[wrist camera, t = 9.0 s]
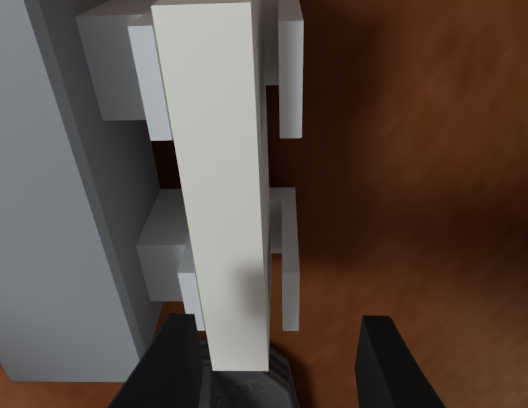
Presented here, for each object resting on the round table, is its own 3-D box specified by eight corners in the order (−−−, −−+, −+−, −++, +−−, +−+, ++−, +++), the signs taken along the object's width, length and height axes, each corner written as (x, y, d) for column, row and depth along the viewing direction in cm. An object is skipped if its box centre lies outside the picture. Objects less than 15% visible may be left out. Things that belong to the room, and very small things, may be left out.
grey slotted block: (296, -71, 14) (308, -63, 8) (294, 265, 22) (299, 383, 16) (-45, -57, 14) (-251, -41, 9) (77, 266, 22) (11, 381, 17)
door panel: (198, -27, 13) (150, 5, 8) (261, -30, 13) (250, 2, 8) (229, 259, 20) (212, 370, 15) (271, 258, 20) (268, 371, 15)
